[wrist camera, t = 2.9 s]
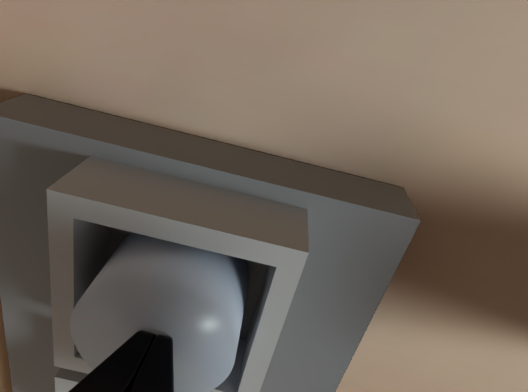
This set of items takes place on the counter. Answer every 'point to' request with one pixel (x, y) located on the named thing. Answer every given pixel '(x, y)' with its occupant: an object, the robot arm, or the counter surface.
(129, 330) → the slate blue button
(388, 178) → the counter surface
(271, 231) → the button panel
